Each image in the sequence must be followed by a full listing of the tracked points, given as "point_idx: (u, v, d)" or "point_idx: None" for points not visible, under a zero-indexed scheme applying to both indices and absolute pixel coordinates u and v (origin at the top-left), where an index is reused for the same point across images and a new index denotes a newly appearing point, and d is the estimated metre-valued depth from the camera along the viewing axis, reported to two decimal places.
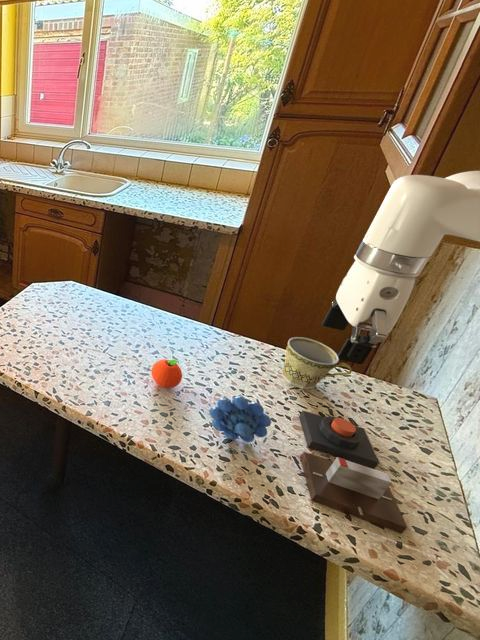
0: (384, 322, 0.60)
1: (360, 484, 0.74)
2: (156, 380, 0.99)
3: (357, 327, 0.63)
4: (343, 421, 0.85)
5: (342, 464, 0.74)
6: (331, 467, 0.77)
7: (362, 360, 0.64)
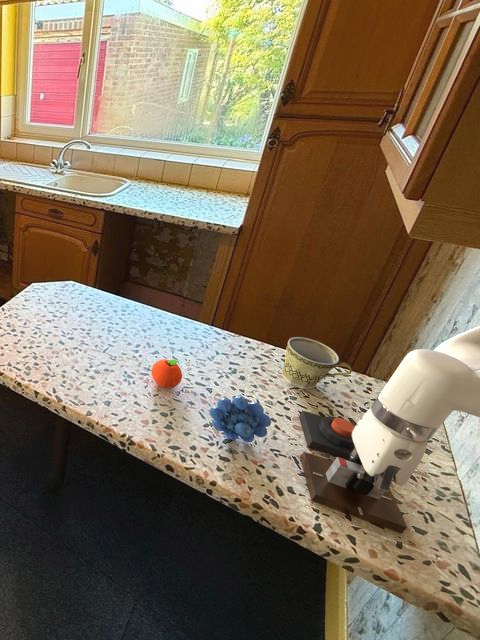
0: (390, 480, 0.67)
1: None
2: (156, 380, 0.99)
3: (365, 471, 0.71)
4: (343, 421, 0.85)
5: (342, 464, 0.74)
6: (331, 467, 0.77)
7: (367, 492, 0.73)
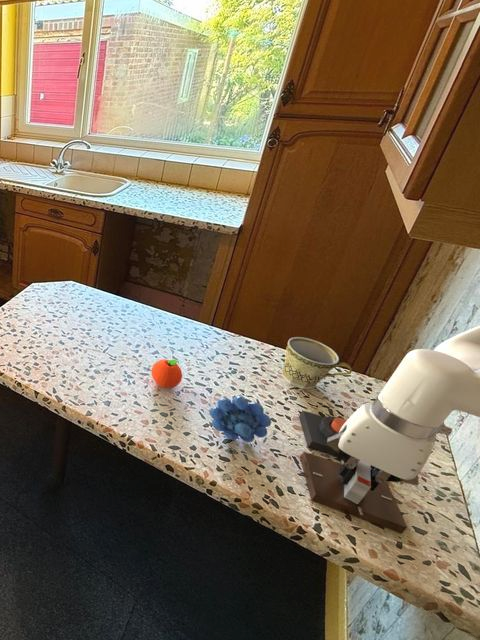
0: None
1: None
2: (156, 380, 0.99)
3: (389, 475, 0.70)
4: (343, 421, 0.85)
5: (369, 484, 0.71)
6: (353, 491, 0.72)
7: None
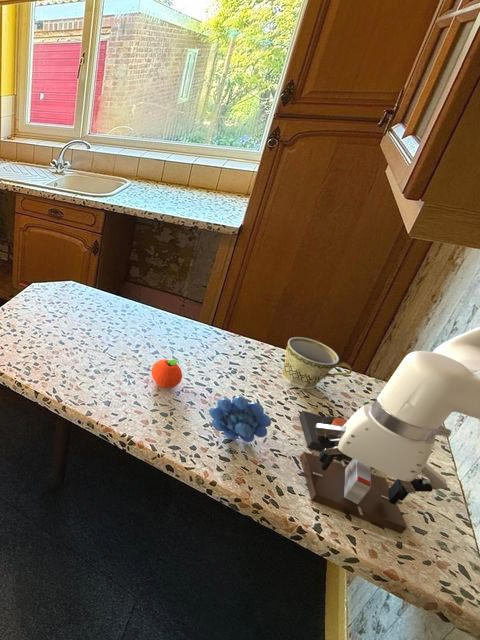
0: (434, 470, 0.67)
1: None
2: (156, 380, 0.99)
3: (409, 480, 0.68)
4: (343, 421, 0.85)
5: (369, 484, 0.71)
6: (353, 491, 0.72)
7: None
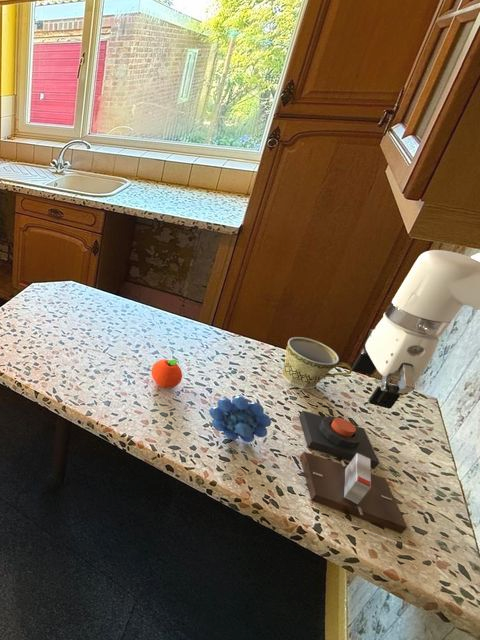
0: (411, 376, 0.69)
1: None
2: (156, 380, 0.99)
3: (386, 377, 0.73)
4: (343, 421, 0.85)
5: (369, 484, 0.71)
6: (353, 491, 0.72)
7: (390, 405, 0.74)
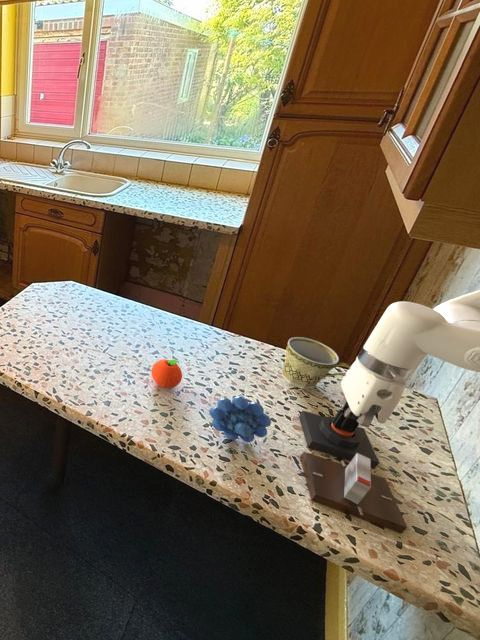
0: (371, 417, 0.77)
1: None
2: (156, 380, 0.99)
3: (351, 411, 0.81)
4: None
5: (369, 484, 0.71)
6: (353, 491, 0.72)
7: (352, 429, 0.83)
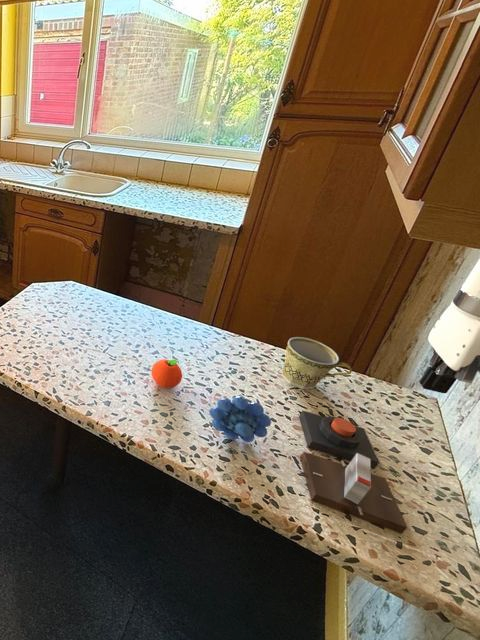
0: (475, 371, 0.66)
1: None
2: (156, 380, 0.99)
3: (446, 367, 0.69)
4: (343, 421, 0.85)
5: (369, 484, 0.71)
6: (353, 491, 0.72)
7: (446, 390, 0.72)
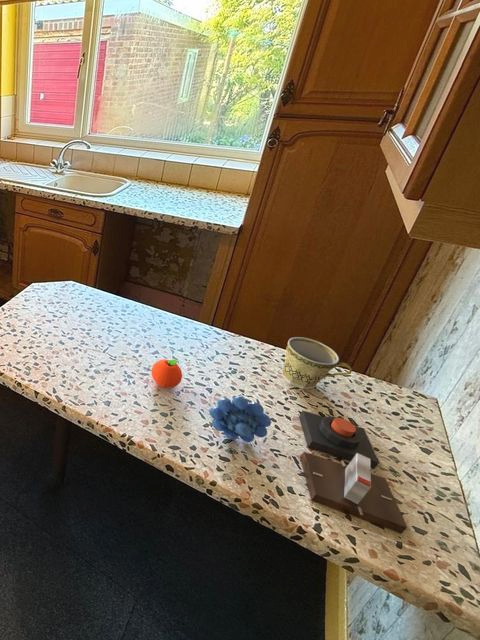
0: None
1: None
2: (156, 380, 0.99)
3: None
4: (343, 421, 0.85)
5: (369, 484, 0.71)
6: (353, 491, 0.72)
7: None
